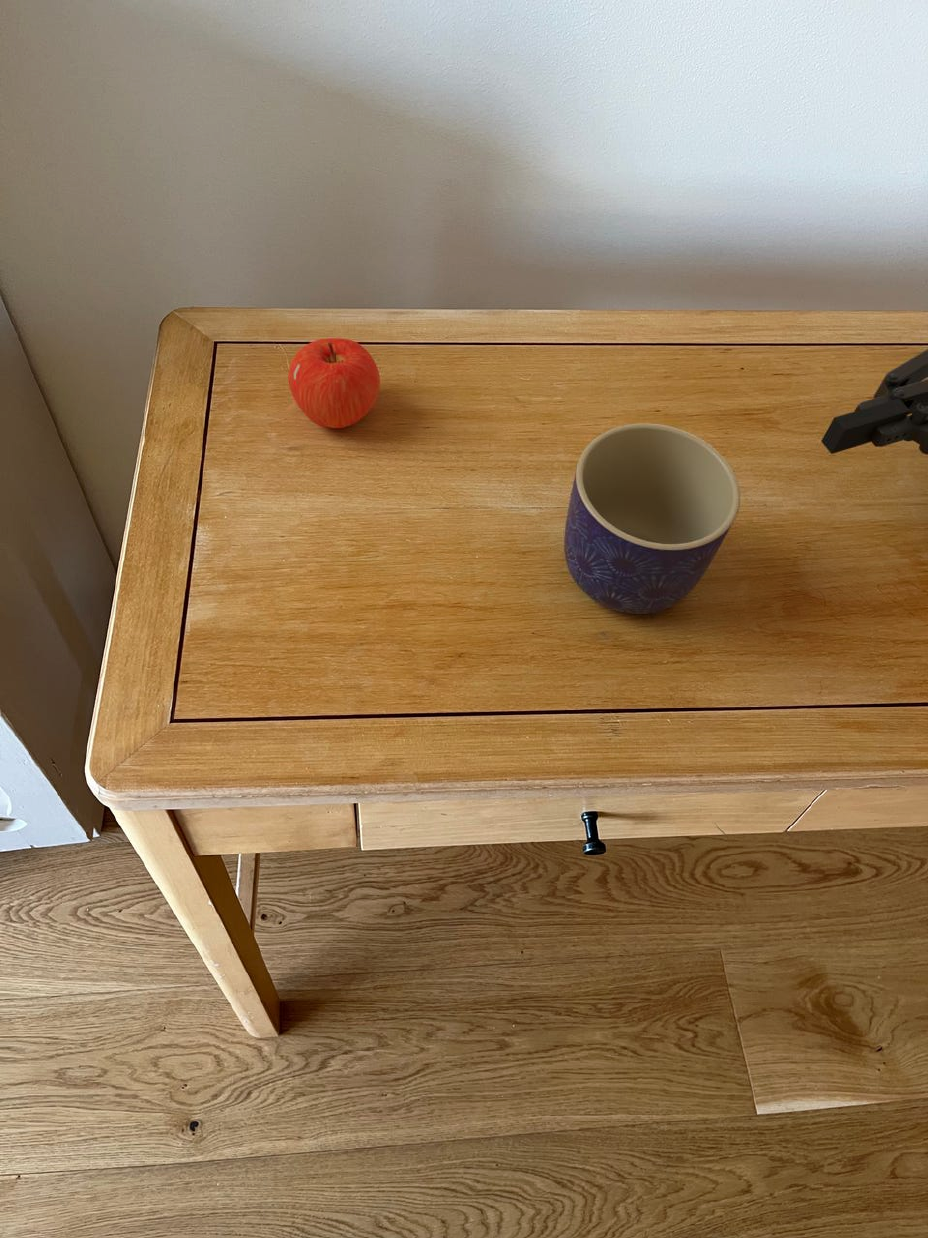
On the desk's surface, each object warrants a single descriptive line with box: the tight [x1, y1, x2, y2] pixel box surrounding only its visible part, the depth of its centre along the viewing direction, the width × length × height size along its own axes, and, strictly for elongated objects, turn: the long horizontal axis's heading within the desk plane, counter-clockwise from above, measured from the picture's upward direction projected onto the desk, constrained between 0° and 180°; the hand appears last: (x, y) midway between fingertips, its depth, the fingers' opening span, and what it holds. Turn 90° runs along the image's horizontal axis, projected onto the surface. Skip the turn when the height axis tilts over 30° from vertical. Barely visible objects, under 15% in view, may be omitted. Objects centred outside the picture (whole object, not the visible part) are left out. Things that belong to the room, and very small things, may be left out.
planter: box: [563, 422, 741, 615], centre depth 74 cm, size 12×12×11 cm
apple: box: [287, 337, 381, 429], centre depth 82 cm, size 8×8×8 cm
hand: (833, 435), depth 74 cm, fingers closed
